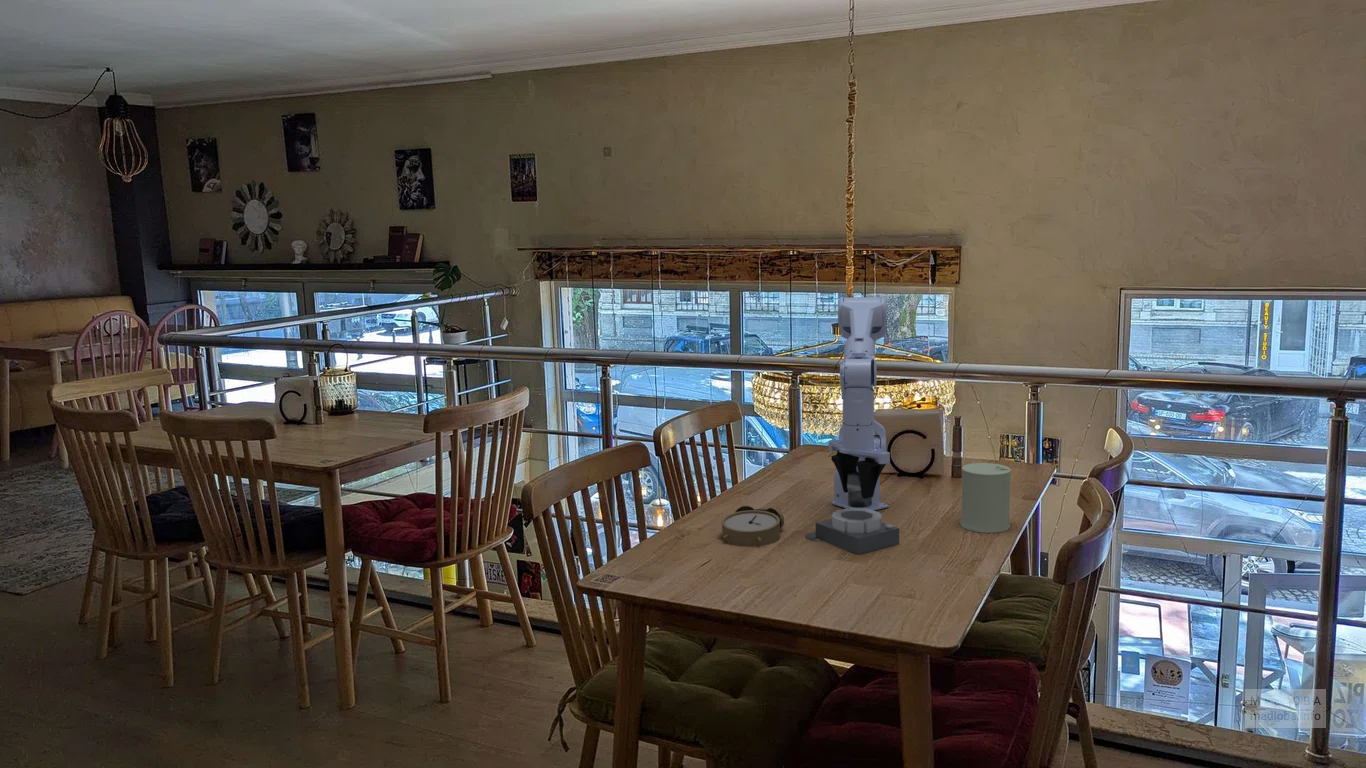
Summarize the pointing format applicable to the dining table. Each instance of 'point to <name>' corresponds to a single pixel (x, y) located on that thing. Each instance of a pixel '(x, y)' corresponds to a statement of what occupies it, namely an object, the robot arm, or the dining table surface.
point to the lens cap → (812, 537)
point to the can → (985, 497)
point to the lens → (856, 491)
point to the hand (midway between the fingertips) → (858, 494)
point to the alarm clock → (752, 526)
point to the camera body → (857, 531)
